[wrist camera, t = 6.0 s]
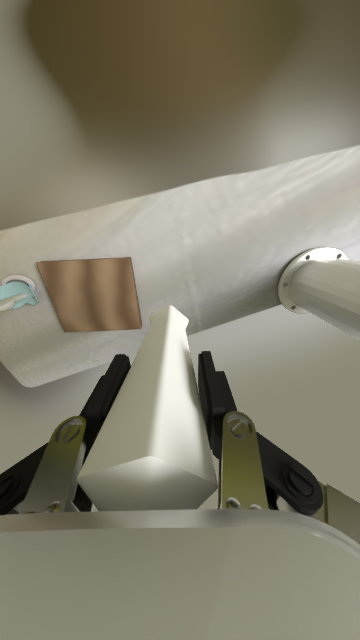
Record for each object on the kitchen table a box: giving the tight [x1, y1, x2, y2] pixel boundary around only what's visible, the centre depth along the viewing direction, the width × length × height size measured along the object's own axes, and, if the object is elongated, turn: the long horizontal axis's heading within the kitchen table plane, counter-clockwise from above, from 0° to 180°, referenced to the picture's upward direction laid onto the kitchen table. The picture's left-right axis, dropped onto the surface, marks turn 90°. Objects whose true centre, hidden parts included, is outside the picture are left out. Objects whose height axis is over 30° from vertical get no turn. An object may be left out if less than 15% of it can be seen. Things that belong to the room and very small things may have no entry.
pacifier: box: [0, 275, 38, 311], centre depth 29 cm, size 7×6×6 cm
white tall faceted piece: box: [76, 305, 218, 511], centre depth 10 cm, size 5×4×15 cm
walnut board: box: [36, 257, 142, 332], centre depth 32 cm, size 16×14×2 cm
